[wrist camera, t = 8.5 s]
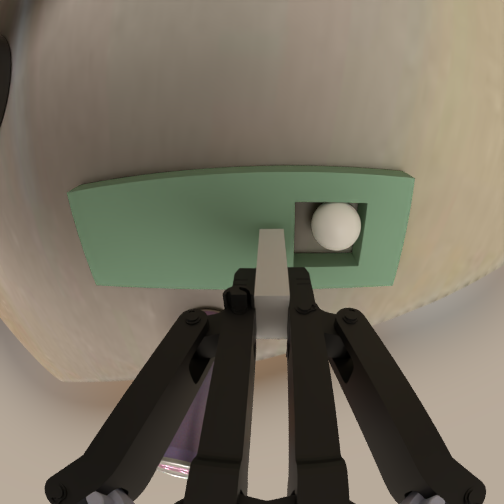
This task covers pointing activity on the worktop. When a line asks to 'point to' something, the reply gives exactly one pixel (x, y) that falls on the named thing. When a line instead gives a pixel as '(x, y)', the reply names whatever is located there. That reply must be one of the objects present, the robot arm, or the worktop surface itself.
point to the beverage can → (187, 432)
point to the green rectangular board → (235, 224)
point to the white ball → (336, 225)
